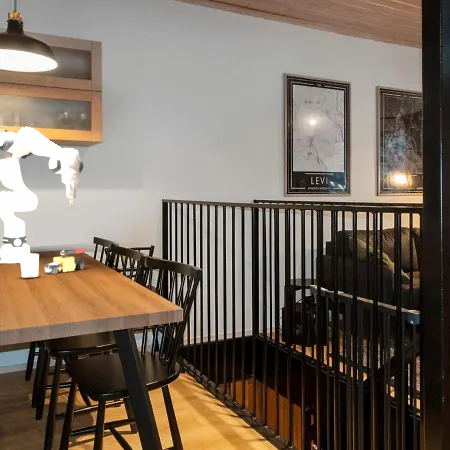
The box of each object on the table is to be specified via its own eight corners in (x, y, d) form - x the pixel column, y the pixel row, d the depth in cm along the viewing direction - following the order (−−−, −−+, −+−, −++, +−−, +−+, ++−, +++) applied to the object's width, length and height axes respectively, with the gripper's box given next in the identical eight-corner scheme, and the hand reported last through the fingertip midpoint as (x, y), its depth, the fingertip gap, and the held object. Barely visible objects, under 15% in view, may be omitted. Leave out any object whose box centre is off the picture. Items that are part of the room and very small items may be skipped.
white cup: (32, 278, 210) (32, 256, 210) (16, 277, 212) (16, 255, 211) (42, 275, 218) (42, 254, 218) (27, 275, 220) (27, 253, 219)
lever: (63, 255, 229) (62, 251, 229) (58, 254, 231) (58, 251, 231) (85, 252, 240) (85, 249, 240) (81, 251, 242) (81, 248, 242)
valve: (52, 275, 222) (52, 257, 221) (43, 274, 225) (42, 256, 225) (85, 269, 239) (85, 253, 238) (76, 268, 242) (76, 252, 242)
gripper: (76, 179, 233) (77, 207, 233) (78, 180, 252) (78, 206, 253) (63, 179, 231) (63, 207, 232) (65, 180, 251) (66, 206, 251)
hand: (71, 206), depth 243 cm, fingers closed
